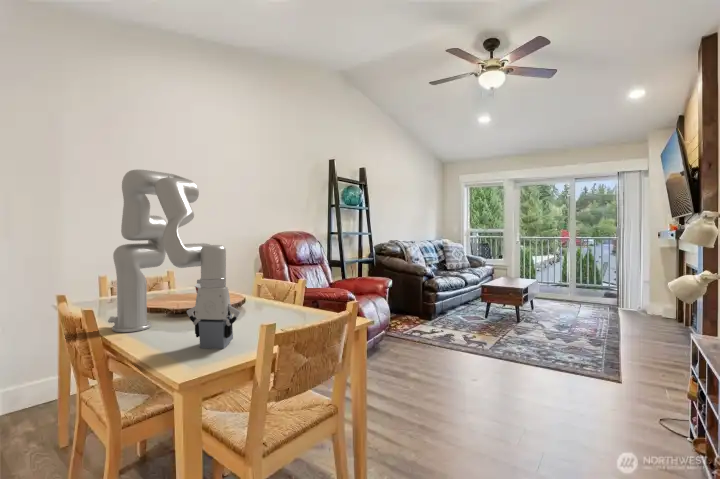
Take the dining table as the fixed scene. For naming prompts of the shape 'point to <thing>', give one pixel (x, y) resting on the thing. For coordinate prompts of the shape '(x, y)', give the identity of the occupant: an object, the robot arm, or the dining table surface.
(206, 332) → the grey matte cube
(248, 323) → the dining table surface
